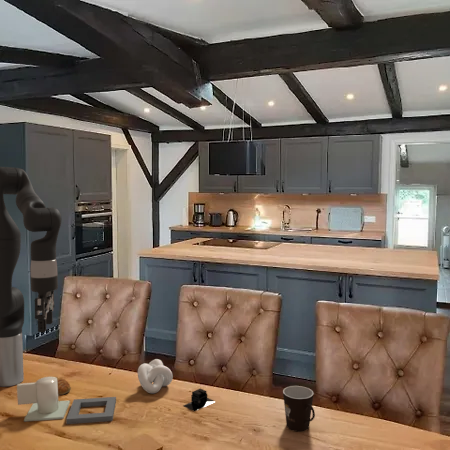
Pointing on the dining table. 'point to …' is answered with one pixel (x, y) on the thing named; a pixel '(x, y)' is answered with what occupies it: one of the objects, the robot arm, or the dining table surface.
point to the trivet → (58, 414)
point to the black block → (198, 400)
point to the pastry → (63, 386)
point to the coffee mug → (298, 407)
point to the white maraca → (40, 394)
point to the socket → (94, 417)
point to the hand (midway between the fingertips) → (45, 327)
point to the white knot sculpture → (154, 376)
